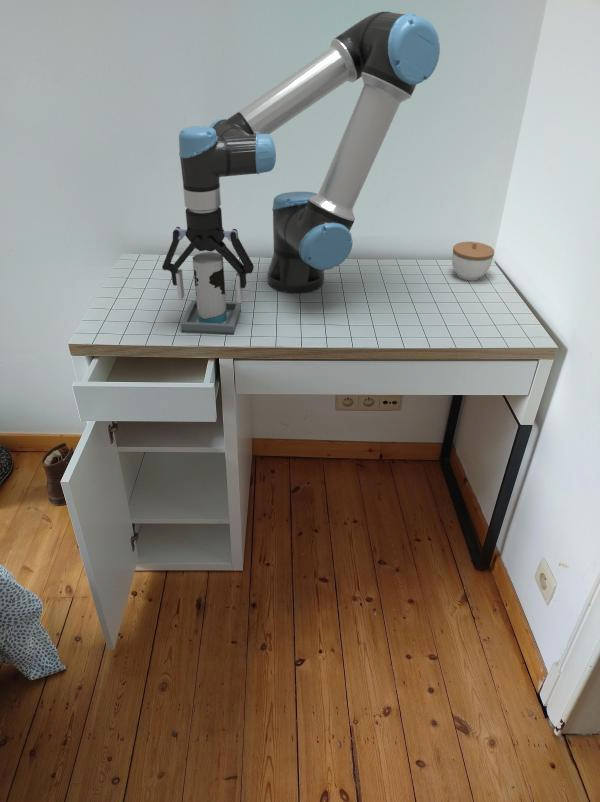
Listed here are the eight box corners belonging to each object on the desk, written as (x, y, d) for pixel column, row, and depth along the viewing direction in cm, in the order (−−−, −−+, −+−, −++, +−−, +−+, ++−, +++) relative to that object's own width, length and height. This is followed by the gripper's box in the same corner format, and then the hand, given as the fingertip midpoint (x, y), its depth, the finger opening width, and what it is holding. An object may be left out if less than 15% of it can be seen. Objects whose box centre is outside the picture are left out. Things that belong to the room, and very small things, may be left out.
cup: (232, 316, 144) (229, 256, 135) (213, 328, 139) (208, 266, 131) (211, 309, 147) (206, 250, 138) (192, 319, 142) (186, 259, 134)
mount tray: (241, 310, 148) (241, 302, 147) (233, 334, 138) (233, 326, 137) (192, 308, 149) (192, 300, 147) (181, 332, 139) (180, 323, 138)
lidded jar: (477, 287, 160) (484, 254, 155) (441, 276, 166) (446, 243, 160) (495, 275, 167) (502, 242, 161) (460, 264, 172) (466, 232, 167)
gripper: (264, 203, 130) (266, 293, 143) (149, 199, 131) (161, 289, 144) (259, 215, 124) (262, 308, 136) (139, 211, 125) (153, 304, 138)
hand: (210, 299), depth 140 cm, fingers open, 13 cm apart
